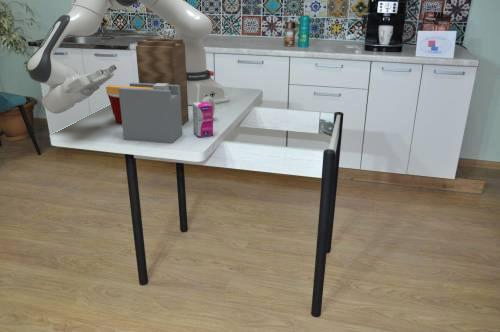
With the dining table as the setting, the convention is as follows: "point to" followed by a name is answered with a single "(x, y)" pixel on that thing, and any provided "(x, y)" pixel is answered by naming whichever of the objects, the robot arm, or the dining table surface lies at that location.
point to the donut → (210, 100)
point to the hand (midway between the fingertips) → (108, 69)
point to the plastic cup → (115, 107)
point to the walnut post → (164, 66)
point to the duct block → (151, 113)
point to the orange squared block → (115, 89)
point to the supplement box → (202, 119)
